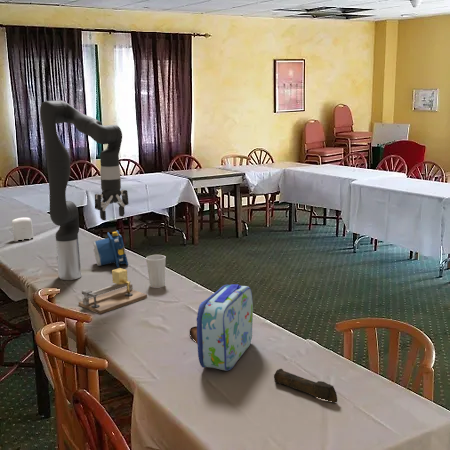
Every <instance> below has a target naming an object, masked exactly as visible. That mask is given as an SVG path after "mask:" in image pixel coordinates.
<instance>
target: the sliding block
mask: <svg viewBox="0 0 450 450" xmlns="http://www.w3.org/2000/svg"><path fill="white" fill-rule="evenodd" d="M111 275H112V276H111V277H112V283H113V284H118V285H121V284H127V286H126V288H127V290H128V294H130V289H129V285H130V284H131V281H130V282H128V280H129V279H128V270H127V269H125V268H123V267H122V268H121V267H118V268H116V269H112V270H111Z"/></svg>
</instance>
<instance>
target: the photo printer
mask: <svg viewBox="0 0 450 450" xmlns="http://www.w3.org/2000/svg"><path fill="white" fill-rule="evenodd" d="M32 222H33V221H32V219H31V217H23V216H22V217H18V218H15V219H12V221H11V226H12V228H11V229H12V234H13V235H12V236H13V241H14V240H15V241H14V242H19V241H18V240H22V241H25V240H24V239H29V238H33V239H34V232H33V231H34V230H33V223H32ZM29 240H30V239H29Z"/></svg>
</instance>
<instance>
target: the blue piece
mask: <svg viewBox="0 0 450 450" xmlns="http://www.w3.org/2000/svg"><path fill="white" fill-rule="evenodd" d="M111 233H112V234H110V232H107V233H106V234H107V238H103V239H98V240H94V242H93V252H94V257H95V261H96V265H97V266H99V267H101V266H105V265H109V264H115V266H116V267H117V268H116V269H118V268H120V265H124V264H125V265H126V266H129V262H128V261H129V260H128V256H127V253H126V248H125V243H124V238H123V236H122V235H121V234H120V232H119V230H115V231H112V232H111Z"/></svg>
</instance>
